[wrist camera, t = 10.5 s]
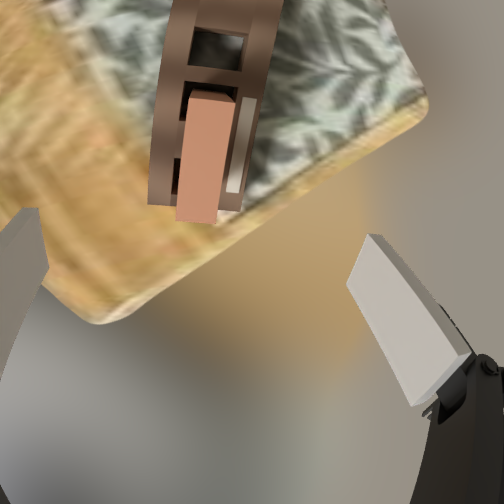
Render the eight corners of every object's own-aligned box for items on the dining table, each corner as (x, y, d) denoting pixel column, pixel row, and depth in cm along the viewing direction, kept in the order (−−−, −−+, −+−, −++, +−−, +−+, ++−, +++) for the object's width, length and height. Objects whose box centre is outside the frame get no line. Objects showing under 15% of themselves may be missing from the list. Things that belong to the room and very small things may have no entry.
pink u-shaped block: (193, 88, 25) (189, 97, 17) (224, 92, 26) (235, 103, 18) (181, 174, 30) (175, 220, 22) (210, 177, 31) (215, 224, 23)
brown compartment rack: (189, -42, 17) (187, -55, 14) (282, -28, 19) (293, -38, 16) (152, 190, 31) (147, 205, 28) (236, 197, 33) (240, 212, 30)
